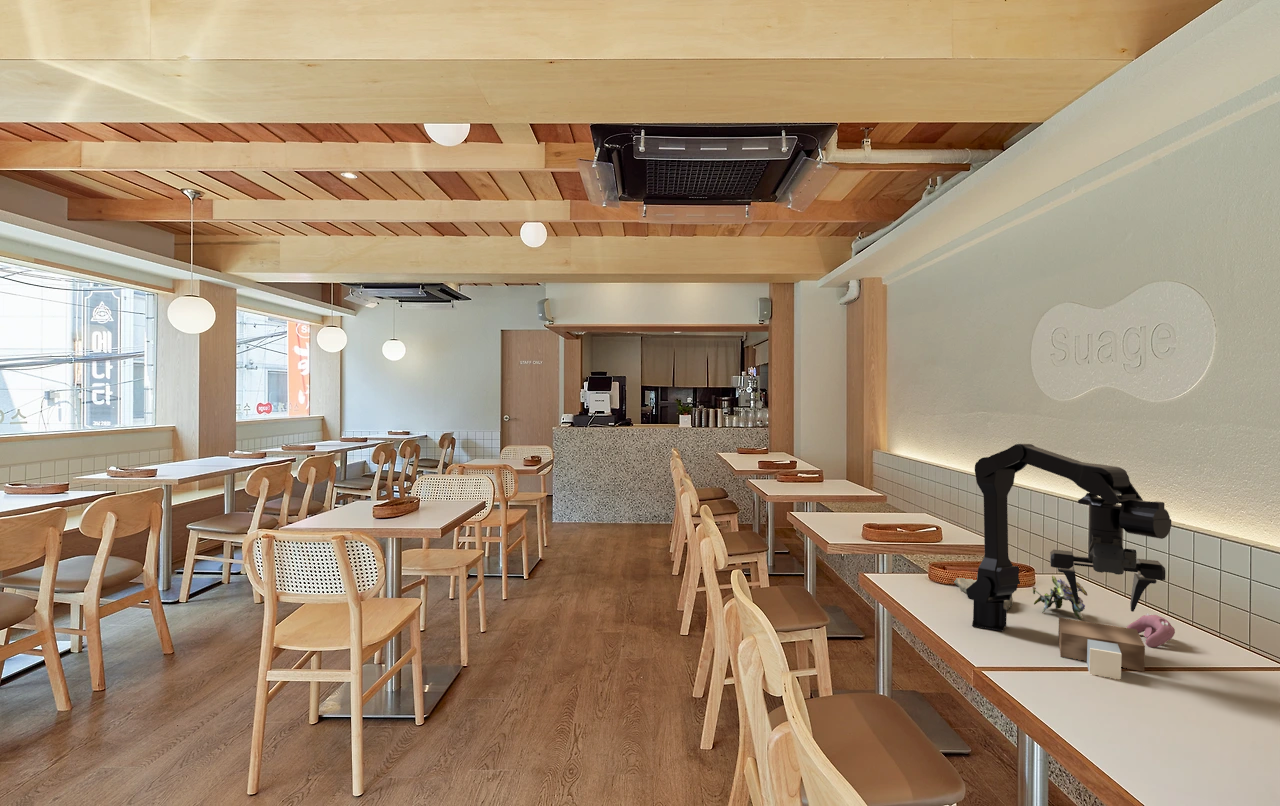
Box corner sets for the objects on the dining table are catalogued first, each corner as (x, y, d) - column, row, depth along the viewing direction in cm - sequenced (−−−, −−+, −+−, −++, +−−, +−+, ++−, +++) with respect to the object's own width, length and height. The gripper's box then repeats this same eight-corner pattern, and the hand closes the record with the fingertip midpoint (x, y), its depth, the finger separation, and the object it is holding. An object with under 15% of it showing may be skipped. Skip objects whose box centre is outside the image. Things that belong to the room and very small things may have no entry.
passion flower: (1077, 640, 167) (1096, 609, 160) (1029, 626, 171) (1045, 596, 164) (1071, 604, 176) (1090, 574, 169) (1025, 592, 179) (1041, 562, 172)
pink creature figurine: (1166, 656, 147) (1183, 628, 146) (1145, 645, 148) (1162, 617, 147) (1142, 641, 157) (1158, 615, 156) (1122, 630, 157) (1138, 604, 157)
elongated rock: (977, 583, 205) (942, 583, 206) (976, 566, 205) (942, 565, 206) (1024, 612, 170) (981, 611, 172) (1022, 591, 170) (980, 590, 172)
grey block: (1086, 663, 137) (1089, 674, 131) (1087, 639, 137) (1090, 648, 131) (1117, 669, 135) (1120, 680, 129) (1117, 644, 135) (1121, 654, 129)
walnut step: (1060, 656, 140) (1061, 632, 140) (1058, 640, 151) (1058, 617, 151) (1144, 671, 134) (1145, 646, 134) (1135, 652, 144) (1136, 629, 144)
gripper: (1052, 530, 134) (1050, 609, 134) (1171, 541, 124) (1169, 626, 124) (1050, 522, 143) (1049, 596, 143) (1161, 532, 134) (1159, 611, 134)
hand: (1103, 607), depth 136 cm, fingers open, 9 cm apart
